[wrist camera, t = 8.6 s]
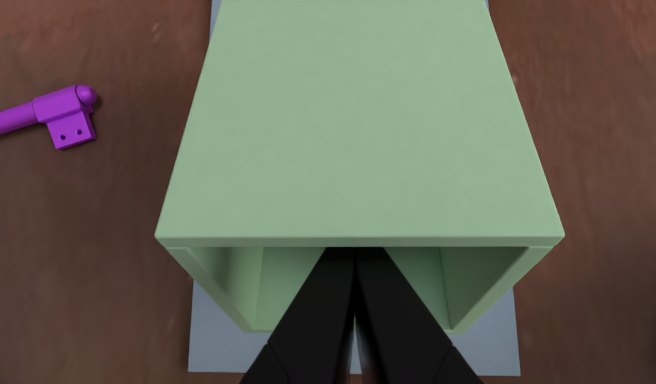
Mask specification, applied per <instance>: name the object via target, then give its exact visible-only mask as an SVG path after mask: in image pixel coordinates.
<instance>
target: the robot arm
mask: <svg viewBox="0 0 656 384" xmlns="http://www.w3.org/2000/svg"><path fill="white" fill-rule="evenodd" d="M354 330H355V331H356V339H357V346H358V353H359V360H360V367H361V374H362V381H363V384H483V382H482V381H481V380H480V378H479V377H478V376H477V375H476V373H475V372H474V371H473V369H472V368H471V367H470V366H469V364H468V363H467V362H466V360H465V359H464V357H463V356H462V355H461V353H460V352H459V350H458V349H457V348H456V346H453V343H452V341H451V340H450V338H449V337H448V336H447V334H446V333H445V331H444V330H443V329H442V327H441V326H440V324H439V323H438V322H437V320H436V319H435V318H434V316H433V315H432V313H431V312H430V311H429V309H428V308H427V307H426V305H425V304H424V302H423V301H422V300H421V298H420V297H419V296H418V294H417V293H416V291H415V290H414V289H413V287H412V286H411V284H410V283H409V282H408V280H407V279H406V278H405V276H404V275H403V273H402V272H401V271H400V269H399V268H398V267H397V265H396V264H395V262H394V261H393V260H392V258H391V257H390V255H389V254H388V253H387V251H386V250H385V249H384V247H326V248H325V250H324V251H323V253H322V254H321V256H320V258H319V259H318V261H317V262H316V264H315V265H314V267H313V269H312V270H311V272H310V273H309V275H308V277H307V278H306V280H305V281H304V283H303V284H302V286H301V288H300V289H299V291H298V292H297V294H296V296H295V297H294V299H293V300H292V302H291V303H290V305H289V307H288V308H287V310H286V311H285V313H284V315H283V316H282V318H281V319H280V321H279V322H278V324H277V326H276V327H275V329H274V330H273V332H272V334H271V335H270V337H269V338H268V340H267V344H264V346H263V347H262V349H261V351H260V352H259V354H258V355H257V357H256V359H255V360H254V362H253V363H252V365H251V366H250V368H249V369H248V370H247V372H246V373H245V375H244V376H243V378H242V379H241V381H240V382H239V384H349V379H350V370H351V361H352V352H353V342H354Z"/></svg>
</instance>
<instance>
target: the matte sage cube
mask: <svg viewBox="0 0 656 384" xmlns="http://www.w3.org/2000/svg"><path fill="white" fill-rule="evenodd" d="M564 236H565V232H564V230H563V227H562V224H561V221H560V218H559V215H558V212H557V209H556V206H555V203H554V200H553V198H552V195H551V192H550V189H549V186H548V183H547V180H546V177H545V174H544V171H543V169H542V166H541V163H540V160H539V157H538V154H537V151H536V148H535V145H534V142H533V140H532V137H531V134H530V131H529V128H528V125H527V122H526V119H525V116H524V113H523V111H522V108H521V105H520V102H519V99H518V96H517V93H516V90H515V87H514V84H513V82H512V79H511V76H510V73H509V70H508V67H507V64H506V61H505V58H504V55H503V53H502V50H501V47H500V44H499V41H498V38H497V35H496V32H495V29H494V26H493V24H492V21H491V18H490V15H489V12H488V9H487V6H486V3H485V0H222V1H221V4H220V8H219V11H218V15H217V18H216V22H215V25H214V29H213V32H212V36H211V39H210V43H209V46H208V50H207V53H206V57H205V60H204V64H203V67H202V71H201V74H200V78H199V81H198V85H197V88H196V92H195V95H194V99H193V102H192V106H191V109H190V113H189V116H188V120H187V123H186V127H185V130H184V134H183V137H182V141H181V144H180V148H179V151H178V154H177V158H176V161H175V165H174V168H173V172H172V175H171V179H170V182H169V186H168V189H167V193H166V196H165V200H164V203H163V207H162V210H161V214H160V217H159V221H158V224H157V228H156V231H155V238H156V239H157V240H158V241H159V243H160V244H161V245H162V246H164V247H165V249H166V250H167V251H168V252H169V253H170V254H171V255H172V256H173V257H174V259H175V260H176V261H177V262H178V263H179V264H180V265H181V266H182V267H183V268H184V269H185V270H186V271H187V272H188V273H189V275H190V276H191V277H192V278H193V279H194V280H195V281H196V282H197V283H198V284H199V285H200V286H201V287H202V288H203V289H204V291H205V292H206V293H207V294H208V295H209V296H210V297H211V298H212V299H213V300H214V301H215V302H216V303H217V304H218V305H219V306H220V308H221V309H222V310H223V311H224V312H225V313H226V314H227V315H228V316H229V317H230V318H231V319H232V320H233V321H234V322H235V324H236V325H237V326H238V327H239V328H240V329H241V330H242V331H243V332H245V333H272V332H273V330H274V329H275V327H276V326H277V324H278V322H279V321H280V319H281V318H282V316H283V315H284V313H285V311H286V310H287V308H288V307H289V305H290V303H291V302H292V300H293V299H294V297H295V296H296V294H297V292H298V291H299V289H300V288H301V286H302V284H303V283H304V281H305V280H306V278H307V277H308V275H309V273H310V272H311V270H312V269H313V267H314V265H315V264H316V262H317V261H318V259H319V258H320V256H321V254H322V253H323V251H324V250H325V248H326V247H384V249H385V250H386V251H387V253H388V254H389V255H390V257H391V258H392V260H393V261H394V262H395V264H396V265H397V267H398V268H399V269H400V271H401V272H402V273H403V275H404V276H405V278H406V279H407V280H408V282H409V283H410V284H411V286H412V287H413V289H414V290H415V291H416V293H417V294H418V296H419V297H420V298H421V300H422V301H423V302H424V304H425V305H426V307H427V308H428V309H429V311H430V312H431V313H432V315H433V316H434V318H435V319H436V320H437V322H438V323H439V324H440V326H441V327H442V329H443V330H444V331H445V333H446V334H463V333H464V332H465V331H466V330H467V329H468V328H469V327H470V326H471V325H472V324H473V323H475V322H476V321H477V320H478V319H479V318H480V317H481V316H482V315H483V314H484V313H485V312H486V311H487V310H488V309H489V308H490V307H491V306H492V305H493V304H495V303H496V302H497V301H498V300H499V299H500V298H501V297H502V296H503V295H504V294H505V293H506V292H507V291H508V290H509V289H510V288H511V287H512V286H513V285H515V284H516V283H517V282H518V281H519V280H520V279H521V278H522V277H523V276H524V275H525V274H526V273H527V272H528V271H529V270H530V269H531V268H532V267H533V266H534V265H536V264H537V263H538V262H539V261H540V260H541V259H542V258H543V257H544V256H545V255H546V254H547V253H548V252H549V251H550V250H551V249H552V248H553V246H555V245H556V244H557V243H558V242H559V241H560V240H561V239H562V238H564ZM354 333H356V331H355V330H354Z"/></svg>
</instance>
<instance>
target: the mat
mask: <svg viewBox="0 0 656 384" xmlns="http://www.w3.org/2000/svg"><path fill="white" fill-rule="evenodd" d="M221 1H222V0H212V9H211V24H210V39H211V36H212V32H213V29H214V25H215V22H216V18H217V15H218V11H219V8H220V4H221ZM485 3H486V6H487V9H488V12H489V8H488V0H485ZM210 39H209V43H210ZM271 334H272V333H245V332H243V331H242V330H241V329H240V328H239V327H238V326H237V325H236V324H235V322H234V321H233V320H232V319H231V318H230V317H229V316H228V315H227V314H226V313H225V312H224V311H223V310H222V309H221V308H220V306H219V305H218V304H217V303H216V302H215V301H214V300H213V299H212V298H211V297H210V296H209V295H208V294H207V293H206V292H205V291H204V289H203V288H202V287H201V286H200V285H199V284H198V283H197V282H196V281H195V280H194V284H193V299H192V315H191V330H190V345H189V360H188V372H241V373H246V372H247V370H248V369H249V368H250V366H251V365H252V363H253V362H254V360H255V359H256V357H257V355H258V354H259V352H260V351H261V349H262V347H263V346H264V344H267V340H268V338H269V337H270V335H271ZM447 336H448V337H449V338H450V340H451V341H452V343H453V346H456V348H457V349H458V350H459V352H460V353H461V355H462V356H463V357H464V359H465V360H466V362H467V363H468V364H469V366H470V367H471V368H472V369H473V371H474V372H475V373H476V375H477V376H520V375H521V374H520V363H519V351H518V340H517V328H516V317H515V306H514V294H513V286H512V287H511V288H510V289H509V290H508V291H507V292H506V293H505V294H504V295H503V296H502V297H501V298H500V299H499V300H498V301H497V302H496V303H495V304H493V305H492V306H491V307H490V308H489V309H488V310H487V311H486V312H485V313H484V314H483V315H482V316H481V317H480V318H479V319H478V320H477V321H476V322H475V323H473V324H472V325H471V326H470V327H469V328H468V329H467V330H466V331H465V332H464V333H463V334H447ZM350 374H361V367H360V360H359V353H358V346H357V339H356V333H354V342H353V352H352V361H351V370H350Z"/></svg>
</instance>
